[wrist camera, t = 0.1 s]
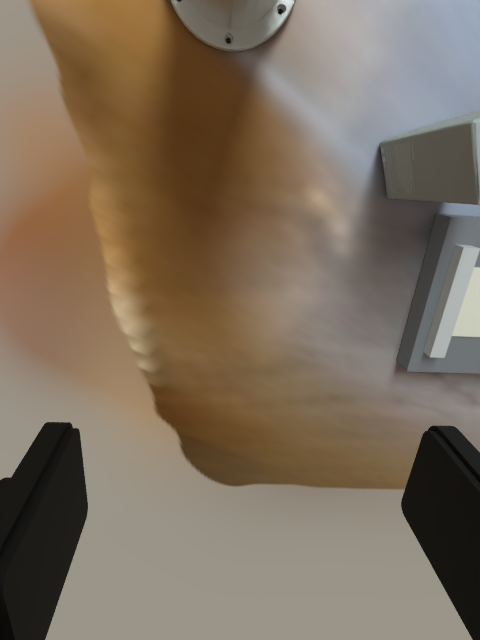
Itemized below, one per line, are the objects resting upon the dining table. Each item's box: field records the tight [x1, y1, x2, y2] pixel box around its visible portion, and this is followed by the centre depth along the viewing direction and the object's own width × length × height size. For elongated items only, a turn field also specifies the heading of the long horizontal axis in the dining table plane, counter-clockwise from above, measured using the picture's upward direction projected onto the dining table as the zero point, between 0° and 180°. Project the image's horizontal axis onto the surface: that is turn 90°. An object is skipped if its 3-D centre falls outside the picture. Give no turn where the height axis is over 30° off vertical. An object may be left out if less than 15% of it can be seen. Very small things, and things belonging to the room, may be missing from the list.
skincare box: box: [380, 111, 480, 205], centre depth 35 cm, size 8×7×16 cm
